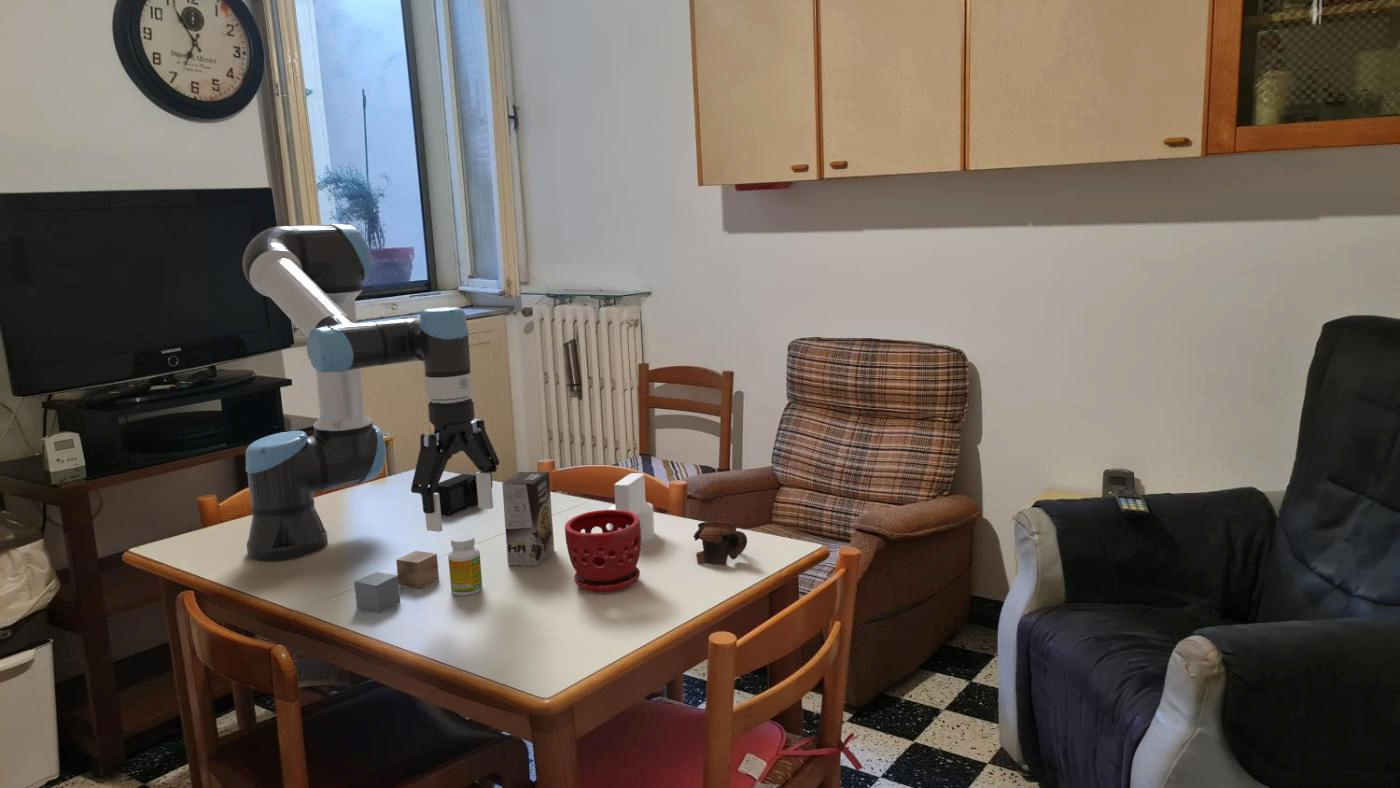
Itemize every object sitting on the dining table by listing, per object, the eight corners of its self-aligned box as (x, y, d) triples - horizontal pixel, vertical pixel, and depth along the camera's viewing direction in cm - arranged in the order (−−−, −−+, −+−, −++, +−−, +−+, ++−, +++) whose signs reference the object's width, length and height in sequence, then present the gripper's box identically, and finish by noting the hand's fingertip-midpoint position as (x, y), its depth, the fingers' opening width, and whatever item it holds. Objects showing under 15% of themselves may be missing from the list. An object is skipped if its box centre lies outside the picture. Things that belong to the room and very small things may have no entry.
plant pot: (575, 572, 176) (571, 509, 174) (646, 570, 176) (643, 507, 174) (562, 600, 164) (558, 533, 162) (639, 598, 163) (636, 530, 161)
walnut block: (398, 586, 173) (396, 559, 173) (418, 576, 178) (415, 550, 177) (420, 589, 171) (417, 562, 170) (439, 579, 176) (436, 553, 175)
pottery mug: (681, 565, 179) (683, 522, 182) (712, 573, 186) (714, 531, 189) (733, 560, 172) (734, 515, 175) (763, 569, 179) (764, 525, 182)
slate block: (357, 609, 163) (354, 581, 162) (378, 598, 168) (375, 571, 167) (379, 613, 161) (376, 585, 160) (400, 602, 166) (397, 575, 165)
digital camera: (453, 517, 213) (451, 486, 212) (434, 515, 216) (431, 484, 214) (483, 504, 222) (480, 475, 221) (464, 502, 225) (462, 473, 224)
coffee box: (539, 566, 180) (533, 483, 177) (506, 565, 181) (500, 483, 179) (555, 550, 189) (550, 470, 186) (525, 549, 190) (519, 470, 187)
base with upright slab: (644, 544, 190) (641, 486, 188) (603, 541, 193) (599, 483, 191) (660, 530, 199) (658, 474, 196) (620, 527, 201) (617, 472, 199)
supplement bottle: (478, 595, 167) (474, 542, 165) (447, 596, 167) (443, 543, 165) (485, 584, 172) (481, 532, 171) (455, 585, 172) (451, 533, 171)
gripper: (416, 414, 151) (428, 543, 155) (513, 387, 173) (521, 501, 177) (380, 411, 154) (393, 538, 158) (479, 385, 176) (489, 497, 180)
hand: (461, 519), depth 167 cm, fingers open, 13 cm apart
